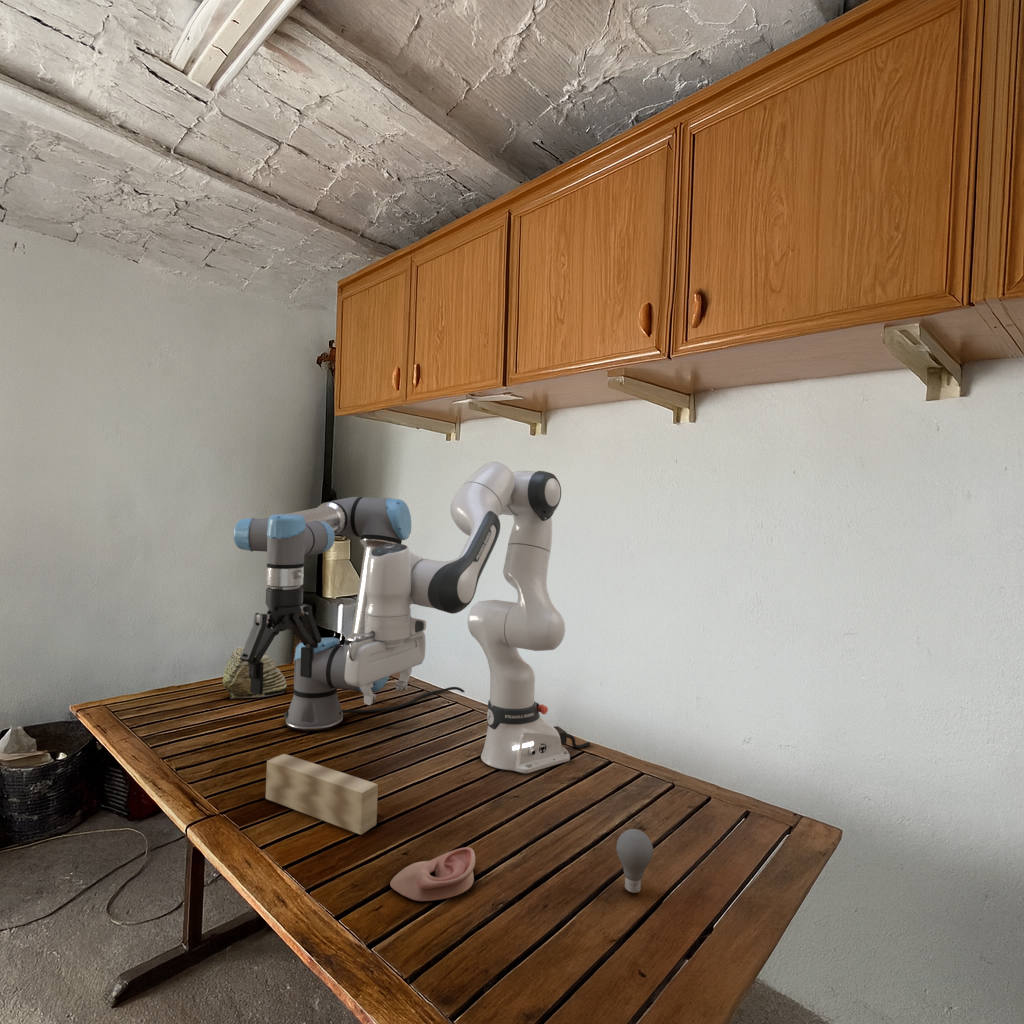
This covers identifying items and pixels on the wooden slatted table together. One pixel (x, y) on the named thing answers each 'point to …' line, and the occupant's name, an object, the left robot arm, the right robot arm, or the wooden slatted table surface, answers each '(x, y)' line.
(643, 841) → the light bulb
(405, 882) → the anatomical model
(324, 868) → the wooden slatted table surface
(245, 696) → the fossil
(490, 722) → the right robot arm
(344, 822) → the ash beam
